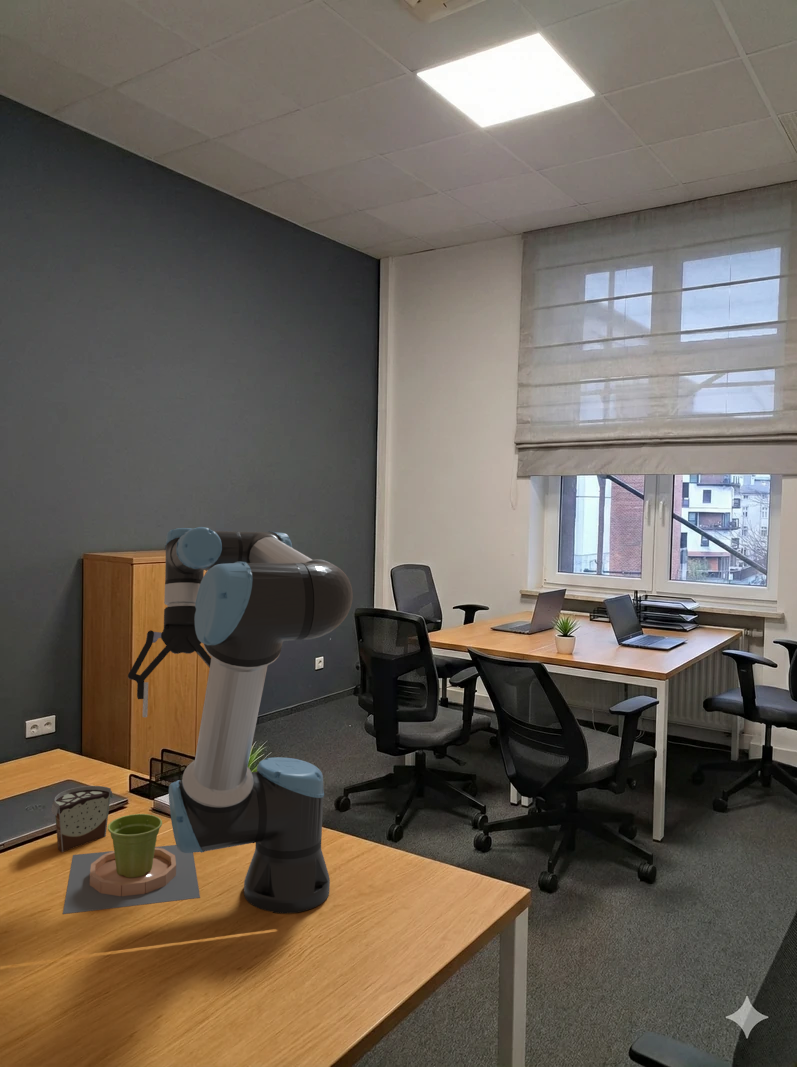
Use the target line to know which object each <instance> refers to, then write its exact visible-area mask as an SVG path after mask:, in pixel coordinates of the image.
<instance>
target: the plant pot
mask: <svg viewBox="0 0 797 1067" xmlns="http://www.w3.org/2000/svg"><path fill="white" fill-rule="evenodd" d="M162 825H163V821H162V819H161V818H160V817H159V816H158V815H157V816H156V815H155V814H154V815H153V814H149V813H136V814H134V813H133V814H128V815H124V816H120V817H117V818H115V819H113V820H112V821H110V822H109V823H108V824H107V831H108V832H109V833H110V837H111V839H112V845H113V851H114V853H115V861H116V869H117V873H118V875H123V876H125V877H128V878H132V877H139V876H142V875H145V873H146V872H148V871H151V869H152V864H153V858H154V851H155V847H156V844H157V838H158V834H159V833H160V828H161V827H162Z"/></svg>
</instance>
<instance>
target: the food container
mask: <svg viewBox="0 0 797 1067" xmlns="http://www.w3.org/2000/svg"><path fill="white" fill-rule="evenodd" d="M111 798H112V799H113V798H114V796H113V791H112V788H111V787H107V786H103V785H102V786H101V785H86V786H78V787H72V788H69V789H66V790H64V791H61V792H59V793H58V794H57V795H56V796H55V797H54V800H53V801H52V805H51V813H52V814H53V815H54V816H55V825H56V826H55V829H56V838H57V839H56V840H57V849H58V850H59V852H61V853H64V852H66V851H68V850H71V849H74V848H77V847H79V846H82V845H85V844H88V843H90V842H93V841H96V840H99V839H102V838H104V837H106V836H107V830H108V820H109V812H110V811H109V810H110V802H111V801H110V799H111Z"/></svg>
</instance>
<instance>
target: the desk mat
mask: <svg viewBox="0 0 797 1067" xmlns="http://www.w3.org/2000/svg"><path fill="white" fill-rule="evenodd" d="M155 847H156V848H163V849H165V850H167V851H168V852H170V853H172V854H174V855H175V859H176V876H175V877H174V878H173V879H172V880H171V881H170V882H169V883H168V884H167V885H166V886H164V887H161V888H158V889H156V890H153V891H151V892H148V893H145V894H137V895H128V896H116V895H109V894H103V893H100V892H98V891H97V890H96V889H94V888H93V887H91V886H90V869H91V864H92V863H93V862H94V861H96V860H97V859H98V858H100V857H101V856H102V855H104V854H107V853H110V852H113V851H114V850H110V851H101V852H89V853H79V854H73V855H72V858H71V863H70V869H69V876H68V881H67V887H66V888H67V889H66V892H65V893H66V894H65V899H64V904H63V905H64V906H63V911H62V915H68V914H77V913H83V912H84V913H85V912H93V911H100V910H107V909H108V910H110V909H119V908H126V907H133V906H135V907H137V906H141V905H152V904H159V903H161V904H162V903H167V902H169V903H170V902H177V901H184V900H185V901H186V900H193V899H200V898H201V893H200V888H199V881H198V876H197V869H196V862H195V857H194V856H195V855H194V853H183V852H181V851H180V850H179V849H178V847H177V845H176V844H172V845H161V846H155Z"/></svg>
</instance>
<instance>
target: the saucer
mask: <svg viewBox="0 0 797 1067" xmlns="http://www.w3.org/2000/svg"><path fill="white" fill-rule="evenodd" d="M156 847H157V846H155V851H154V858H153V864H152V869H151V871H148V872H146V873H145V875H142V876H139V877H132V878H128V877H125V876H123V875H118V873H117V869H116V861H115V853H114V850H112V851H113V852H110V853H107V854H104V855H102V856H101V857H100V858H98V859H97V860H96V861H94V862H93V863H92V864H91V869H90V886H91V887H93V888H94V889H96V890H97V891H98V892H100V893H103V894H109V895H116V896H128V895H137V894H145V893H148V892H151V891H153V890H156V889H158V888H161V887H164V886H166V885H167V884H168V883H169V882H170V881H171V880H172V879H173V878H174V877H175V876H176V859H175V855H174V854H172V853H170V852H168V851H167V850H165V849H163V848H156Z"/></svg>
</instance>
